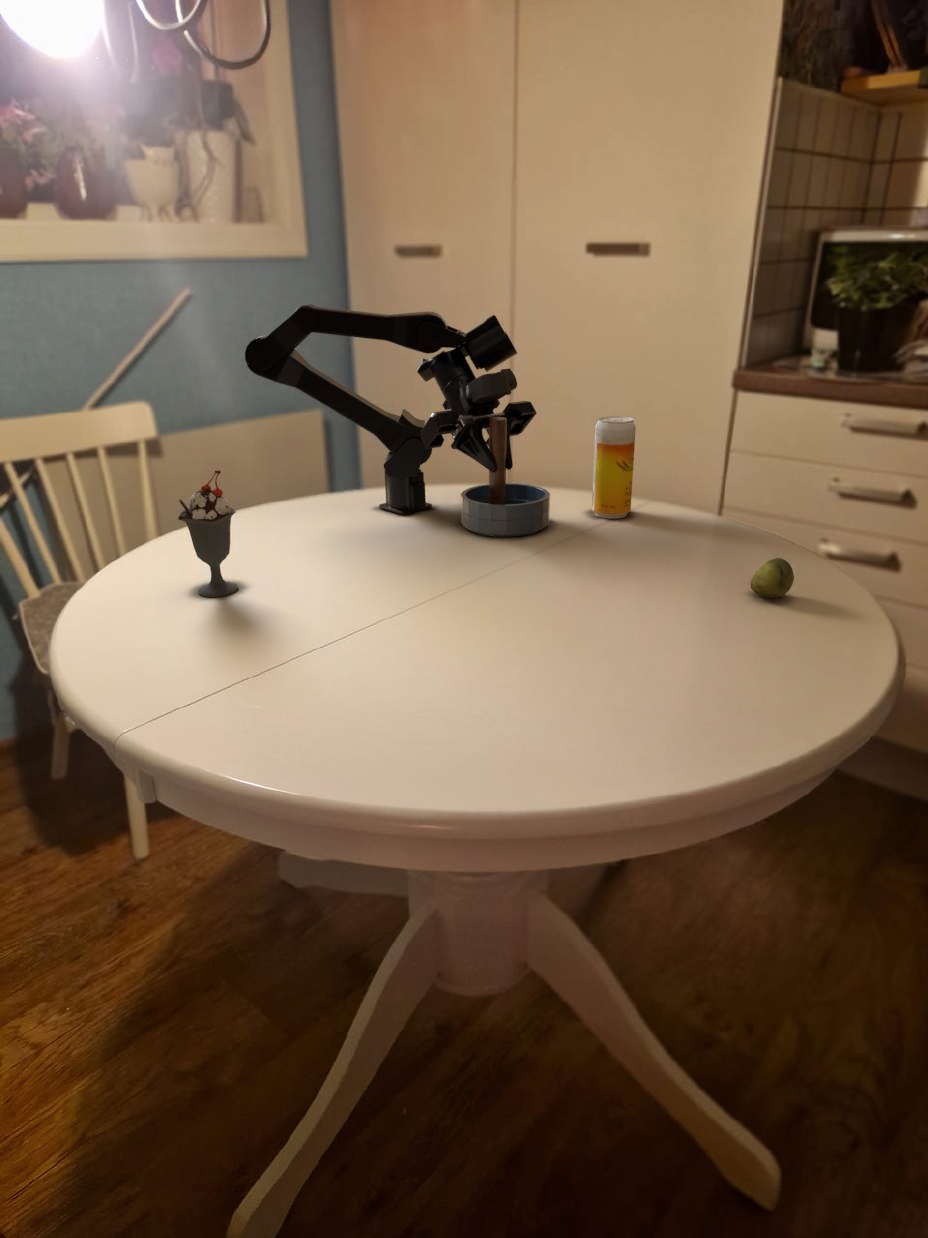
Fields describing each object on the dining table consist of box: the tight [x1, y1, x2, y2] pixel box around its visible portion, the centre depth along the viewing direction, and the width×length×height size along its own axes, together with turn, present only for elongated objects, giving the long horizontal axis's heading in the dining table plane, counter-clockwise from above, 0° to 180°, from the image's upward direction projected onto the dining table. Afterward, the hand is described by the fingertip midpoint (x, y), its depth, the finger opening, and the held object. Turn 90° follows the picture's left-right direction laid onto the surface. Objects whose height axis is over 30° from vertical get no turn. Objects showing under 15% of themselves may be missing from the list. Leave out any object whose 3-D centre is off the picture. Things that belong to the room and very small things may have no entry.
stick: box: [488, 417, 507, 505], centre depth 131 cm, size 4×4×15 cm
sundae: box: [177, 470, 239, 598], centre depth 106 cm, size 7×7×15 cm
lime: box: [750, 557, 795, 599], centre depth 102 cm, size 4×5×5 cm
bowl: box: [460, 482, 551, 538], centre depth 132 cm, size 13×13×5 cm
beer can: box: [591, 415, 637, 519], centre depth 135 cm, size 6×6×15 cm
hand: (503, 469), depth 130 cm, fingers closed on stick, 2 cm apart
